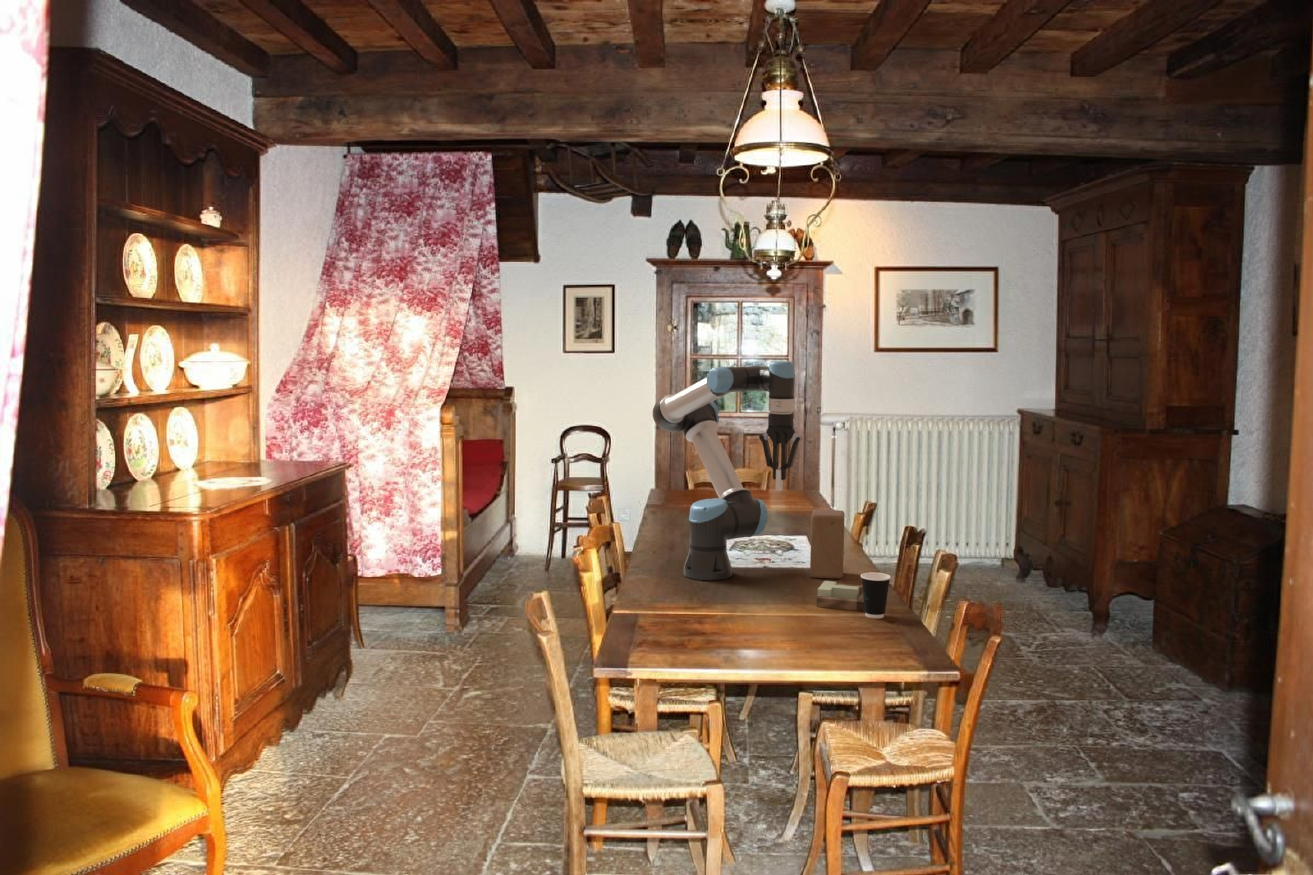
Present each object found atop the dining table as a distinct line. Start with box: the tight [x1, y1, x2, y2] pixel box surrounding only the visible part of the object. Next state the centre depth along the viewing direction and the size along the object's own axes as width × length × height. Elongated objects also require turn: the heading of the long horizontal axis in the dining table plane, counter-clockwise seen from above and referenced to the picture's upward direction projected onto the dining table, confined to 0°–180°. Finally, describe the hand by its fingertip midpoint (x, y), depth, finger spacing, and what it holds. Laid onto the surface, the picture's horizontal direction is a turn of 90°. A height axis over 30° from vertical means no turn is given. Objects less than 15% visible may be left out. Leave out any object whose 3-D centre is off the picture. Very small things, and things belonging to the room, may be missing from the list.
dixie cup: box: [860, 572, 891, 619], centre depth 268 cm, size 8×8×11 cm
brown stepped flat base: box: [816, 582, 864, 612], centre depth 283 cm, size 13×18×2 cm
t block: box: [817, 580, 860, 600], centre depth 284 cm, size 10×10×4 cm
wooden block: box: [809, 509, 846, 580], centre depth 312 cm, size 10×10×20 cm
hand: (779, 490), depth 302 cm, fingers closed
